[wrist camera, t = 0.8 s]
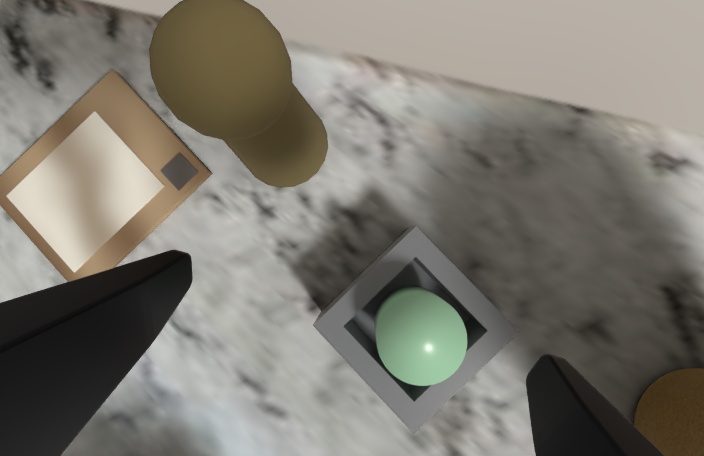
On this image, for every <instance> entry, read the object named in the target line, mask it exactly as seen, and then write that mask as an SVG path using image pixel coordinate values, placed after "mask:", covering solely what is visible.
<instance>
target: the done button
mask: <svg viewBox="0 0 704 456" xmlns="http://www.w3.org/2000/svg"><path fill="white" fill-rule="evenodd" d="M374 326H375V335H376V343H377V349H378V353H379V356H380V358H381V360H382V362H383V364H384V365H385V367H386V368H387V369H388V370H389V372H391V373H392V374H393V375H394V376H395V377H397V378H398V379H400V380H401V381H403V382H406V383H408V384H412V385H417V386H428V385H434V384H437V383H440V382H442V381H444V380H446V379H447V378H449V377H450V376H451V375H452V374H454V373H455V371H456V370H457V369H458V368H459V366H460V365H461V363H462V361H463V359H464V357H465V354H466V349H467V333H466V328H465V325H464V323H463V321H462V319H461V317H460V316H459V314H458V313H457V311H456V310H455V309H454V308H453V307H452V306H451V305H450V304H448V303H447V302H445V301H444V300H443V299H441V298H440V297H439V296H437V295H436V294H435V293H433V292H432V291H430V290H428V289H426V288H423V287H419V286H405V287H401V288H398V289H396V290H394V291H392V292H390V293H389V294H388V295H387V296H386V297H385V298H384V299H383V300H382V301H381V303H380V304H379V306H378V308H377V311H376V314H375V321H374Z"/></svg>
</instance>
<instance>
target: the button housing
mask: <svg viewBox="0 0 704 456" xmlns="http://www.w3.org/2000/svg"><path fill="white" fill-rule="evenodd" d="M405 286H419V287H423V288H426V289H428V290H430V291H432V292H433V293H435V294H436V295H437V296H439V297H440V298H441V299H443V300H444V301H445V302H447V303H448V304H450V305H451V306H452V307H453V308H454V309H455V310H456V311H457V313H458V314H459V316H460V317H461V319H462V321H463V323H464V325H465V328H466V333H467V349H466V354H465V357H464V359H463V361H462V363H461V365H460V366H459V368H458V369H457V370H456V371H455V373H454V374H452V375H451V376H450V377H449V378H447V379H446V380H444V381H442V382H440V383H437V384H434V385H428V386H417V385H412V384H408V383H406V382H403V381H401V380H400V379H398V378H397V377H395V376H394V375H393V374H392V373H391V372H389V370H388V369H387V368H386V367H385V365H384V364H383V362H382V360H381V358H380V356H379V353H378V349H377V343H376V335H375V326H374V321H375V314H376V311H377V308H378V306H379V304H380V303H381V301H382V300H383V299H384V298H385V297H386V296H387V295H388V294H389V293H390V292H392V291H394V290H396V289H398V288H401V287H405ZM313 326H314V327H315V328H316V329H317V330H318V331H319V333H320V334H321V335H322V336H323V337H324V338H325V339H326V340H327V341H328V342H329V343H330V344H331V345H332V347H333V348H334V349H335V350H336V351H337V352H338V353H339V354H340V355H341V356H342V357H343V358H344V359H345V360H346V362H347V363H348V364H349V365H350V366H351V367H352V368H353V369H354V370H355V371H356V372H357V373H358V374H359V376H360V377H361V378H362V379H363V380H364V381H365V382H366V383H367V384H368V385H369V386H370V387H371V388H372V390H373V391H374V392H375V393H376V394H377V395H378V396H379V397H380V398H381V399H382V400H383V401H384V402H385V403H386V405H387V406H388V407H389V408H390V409H391V410H392V411H393V412H394V413H395V414H396V415H397V416H398V417H399V419H400V420H401V421H402V422H403V423H404V424H405V425H406V426H407V427H408V428H409V429H410V430H411V431H412V432H413V434H414V433H415V432H416V431H417V430H418V429H419V428H420V427H421V426H422V425H423V424H424V423H425V422H426V421H427V420H429V419H430V418H431V417H432V416H433V415H434V414H435V413H436V412H437V411H438V410H439V409H440V408H441V407H442V406H443V405H444V404H445V403H446V402H447V401H448V400H449V399H450V398H451V397H452V396H453V395H454V394H455V393H457V392H458V391H459V390H460V389H461V388H462V387H463V386H464V385H465V384H466V383H467V382H468V381H469V380H470V379H471V378H472V377H473V376H474V375H475V374H476V373H477V372H478V371H479V370H480V369H481V368H482V367H483V366H485V365H486V364H487V363H488V362H489V361H490V360H491V359H492V358H493V357H494V356H495V355H496V354H497V353H498V352H499V351H500V350H501V349H502V348H503V347H504V346H505V345H506V344H507V343H508V342H509V341H510V340H511V339H513V338H514V337H515V336H516V335H517V334H518V333H519V331H518V330H517V329H516V328H515V327H514V326H513V325H512V323H511V322H510V321H509V320H508V319H507V318H506V317H505V316H504V315H503V314H502V313H501V312H500V311H499V310H498V309H497V308H496V307H495V306H494V305H493V304H492V303H491V302H490V301H489V300H488V299H487V298H486V297H485V296H484V295H483V294H482V293H481V292H480V291H479V290H478V289H477V288H476V287H475V286H474V285H473V284H472V283H471V282H470V281H469V280H468V279H467V277H466V276H465V275H464V274H463V273H462V272H461V271H460V270H459V269H458V268H457V267H456V266H455V265H454V264H453V263H452V262H451V261H450V260H449V259H448V258H447V257H446V256H445V255H444V254H443V253H442V252H441V251H440V250H439V249H438V248H437V247H436V246H435V245H434V244H433V243H432V242H431V241H430V240H429V239H428V238H427V237H426V236H425V235H424V234H423V232H422V231H421V230H420V229H419V228H418V227H417V226H415V227H411V228H407V229H406V230H405V231H404V232H403V233H402V234H401V235H400V236H399V237H398V238H397V239H396V240H395V241H394V242H393V243H392V244H391V245H390V246H389V247H388V248H387V249H386V250H385V251H384V252H383V253H382V254H380V255H379V256H378V257H377V258H376V259H375V260H374V261H373V262H372V263H371V264H370V265H369V266H368V267H367V268H366V269H365V270H364V271H363V272H362V273H361V274H360V275H359V276H358V277H357V278H356V279H354V280H353V281H352V282H351V283H350V284H349V285H348V286H347V287H346V288H345V289H344V290H343V291H342V292H341V293H340V294H339V295H338V296H337V297H336V298H335V299H334V300H333V301H332V302H331V303H330V304H329V305H327V306H326V307H325V308H324V309H323V310H322V311H321V313H320V314H319V316H318V318H317V319H316V321H315V323H314V324H313Z"/></svg>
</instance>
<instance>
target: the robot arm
mask: <svg viewBox="0 0 704 456" xmlns="http://www.w3.org/2000/svg"><path fill="white" fill-rule="evenodd" d="M191 283H192V261H191V256H190V255H189V254H188V253H185V252H182V251H178V250H170V251H167V252H164V253H160V254H157V255H154V256H151V257H147V258H144V259H141V260H138V261H134V262H131V263H128V264H125V265H122V266H118V267H115V268H112V269H109V270H105V271H102V272H99V273H96V274H92V275H89V276H86V277H83V278H80V279H76V280H73V281H70V282H67V283H63V284H60V285H57V286H54V287H50V288H47V289H44V290H41V291H37V292H34V293H31V294H28V295H24V296H21V297H18V298H15V299H12V300H8V301H5V302H2V303H0V456H60V455H61V454H62V453H63V452H64V450H65V449H66V448H67V447H68V446H69V444H70V443H71V442H72V441H73V439H74V438H75V437H76V436H77V435H78V433H79V432H80V431H81V430H82V428H83V427H84V426H85V425H86V424H87V422H88V421H89V420H90V419H91V417H92V416H93V415H94V414H95V413H96V411H97V410H98V409H99V408H100V406H101V405H102V404H103V403H104V402H105V400H106V399H107V398H108V397H109V395H110V394H111V393H112V392H113V391H114V389H115V388H116V387H117V386H118V384H119V383H120V382H121V381H122V380H123V378H124V377H125V376H126V375H127V373H128V372H129V371H130V370H131V369H132V367H133V366H134V365H135V364H136V362H137V361H138V360H139V359H140V358H141V356H142V355H143V354H144V353H145V351H146V350H147V349H148V348H149V347H150V345H151V344H152V343H153V341H154V340H155V339H156V337H157V336H158V335H159V333H160V332H161V330H162V329H163V327H164V326H165V324H166V323H167V321H168V320H169V318H170V317H171V315H172V314H173V312H174V311H175V309H176V308H177V306H178V305H179V303H180V302H181V300H182V299H183V297H184V296H185V294H186V293H187V291H188V290H189V288H190V286H191ZM526 387H527V395H528V403H529V411H530V419H531V427H532V435H533V442H534V448H535V453H536V456H665V455H664V454H662V453H661V452H660V451H659V450H658V449H657V448H656V447H655V446H654V445H653V444H652V443H651V442H650V441H649V440H648V439H647V438H646V437H645V436H644V435H643V434H642V433H641V432H640V431H639V430H638V429H637V428H636V427H635V426H633V425H632V424H631V423H630V422H629V421H628V420H627V419H626V418H625V417H624V416H623V415H622V414H621V413H620V412H619V411H618V410H617V409H616V408H615V407H614V406H613V405H612V404H611V403H610V402H609V401H608V400H607V399H606V398H605V397H603V396H602V395H601V394H600V393H599V392H598V391H597V390H596V389H595V388H594V387H593V386H592V385H591V384H590V383H589V382H588V381H587V380H586V379H585V378H584V377H583V376H582V375H581V374H580V373H579V372H578V371H577V370H576V369H575V368H574V367H572V366H571V365H570V364H569V363H568V362H567V361H566V360H565V359H563V358H561V357H557V356H554V355H550V354H545V355H542V356H541V358H540V359H539V360H538V361H537V363H536V364H535V365H534V367H533V368H532V369H531V371H530V372H529V373H528V375H527V379H526Z"/></svg>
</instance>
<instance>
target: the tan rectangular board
mask: <svg viewBox="0 0 704 456" xmlns="http://www.w3.org/2000/svg"><path fill="white" fill-rule="evenodd" d="M211 174H212V173H211V172H210V171H209V170H208V169H207V168H206V167H205V165H204V164H203V163H202V162H201V161H200V160H199V159H198V158H197V157H196V156H195V155H194V154H193V153H192V152H191V151H190V150H189V148H188V147H187V146H186V145H185V144H184V143H183V142H182V141H181V140H180V139H179V138H178V137H177V136H176V135H175V134H174V133H173V131H172V130H171V129H170V128H169V127H168V126H167V125H166V124H165V123H164V122H163V121H162V120H161V119H160V118H159V117H158V116H157V114H156V113H155V112H154V111H153V110H152V109H151V108H150V107H149V106H148V105H147V104H146V103H145V102H144V101H143V100H142V99H141V97H140V96H139V95H138V94H137V93H136V92H135V91H134V90H133V89H132V88H131V87H130V86H129V85H128V84H127V83H126V82H125V80H124V79H123V78H122V77H121V76H120V75H119V74H118V73H117V72H115V71H114V70H111V71H110V72H109V73H108V74H107V75H106V76H105V77H104V78H103V79H101V80H100V81H99V82H98V83H97V84H96V85H95V86H94V87H93V88H92V89H91V90H90V91H89V92H88V93H87V94H86V95H85V96H84V97H83V98H82V99H81V100H80V101H79V102H77V103H76V104H75V105H74V106H73V107H72V108H71V109H70V110H69V111H68V112H67V113H66V114H65V115H64V116H63V117H62V118H61V119H60V120H59V121H58V122H57V123H56V124H55V125H53V126H52V127H51V128H50V129H49V130H48V131H47V132H46V133H45V134H44V135H43V136H42V137H41V138H40V139H39V140H38V141H37V142H36V143H35V144H34V145H33V146H32V147H31V148H29V149H28V150H27V151H26V152H25V153H24V154H23V155H22V156H21V157H20V158H19V159H18V160H17V161H16V162H15V163H14V164H13V165H12V166H11V167H10V168H9V169H8V170H7V171H5V172H4V173H3V174H2V175H1V176H0V206H1V207H2V208H3V209H4V210H5V211H6V212H7V213H8V215H9V216H10V217H11V218H12V219H13V220H14V221H15V223H16V224H17V225H18V226H19V227H20V228H21V229H22V231H23V232H24V233H25V234H26V235H27V236H28V237H29V238H30V240H31V241H32V242H33V243H34V244H35V245H36V246H37V248H38V249H39V250H40V251H41V252H42V253H43V254H44V255H45V257H46V258H47V259H48V260H49V261H50V262H51V263H52V265H53V266H54V267H55V268H56V269H57V270H58V271H59V272H60V274H61V275H62V276H63V277H64V278H65V279H66V280H67V282H70V281H73V280H76V279H80V278H83V277H86V276H89V275H92V274H96V273H99V272H102V271H105V270H109V269H112V268H114V267H115V266H117V265H118V264H119V263H120V262H121V261H122V260H123V259H124V258H125V257H126V256H127V255H128V254H129V253H130V252H131V251H132V250H133V249H134V248H135V247H136V246H137V245H138V244H139V243H140V242H142V241H143V240H144V239H145V238H146V237H147V236H148V235H149V234H150V233H151V232H152V231H153V230H154V229H155V228H156V227H157V226H158V225H159V224H160V223H161V222H162V221H163V220H164V219H165V218H167V217H168V216H169V215H170V214H171V213H172V212H173V211H174V210H175V209H176V208H177V207H178V206H179V205H180V204H181V203H182V202H183V201H184V200H185V199H186V198H187V197H188V196H189V195H190V194H192V193H193V192H194V191H195V190H196V189H197V188H198V187H199V186H200V185H201V184H202V183H203V182H204V181H205V180H206V179H207V178H208V177H209V176H210V175H211Z"/></svg>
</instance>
